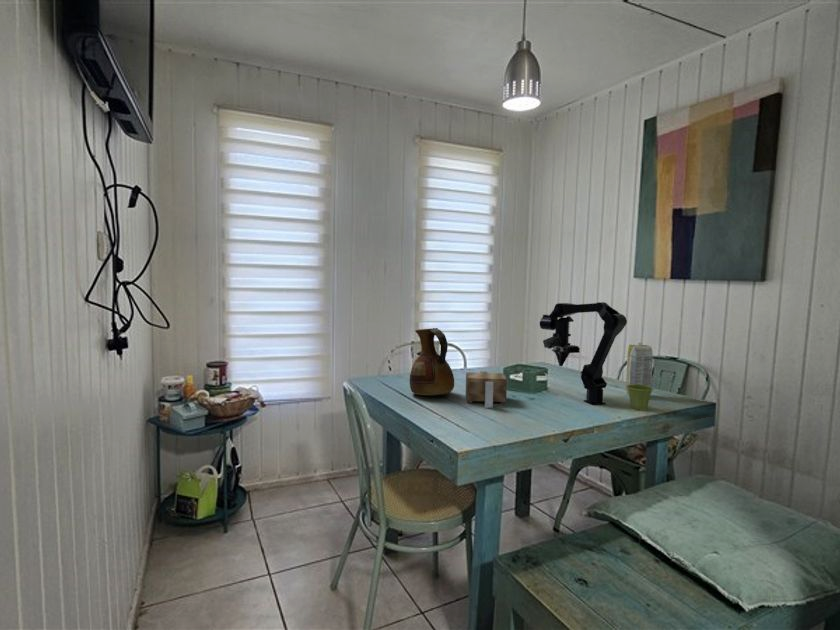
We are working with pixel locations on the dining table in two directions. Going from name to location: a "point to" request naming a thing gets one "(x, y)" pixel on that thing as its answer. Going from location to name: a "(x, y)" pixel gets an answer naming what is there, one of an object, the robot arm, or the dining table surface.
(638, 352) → the juice carton
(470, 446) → the dining table surface
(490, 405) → the post
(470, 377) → the wood grain box
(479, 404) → the dining table surface
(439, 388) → the ceramic pitcher
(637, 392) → the plant pot
